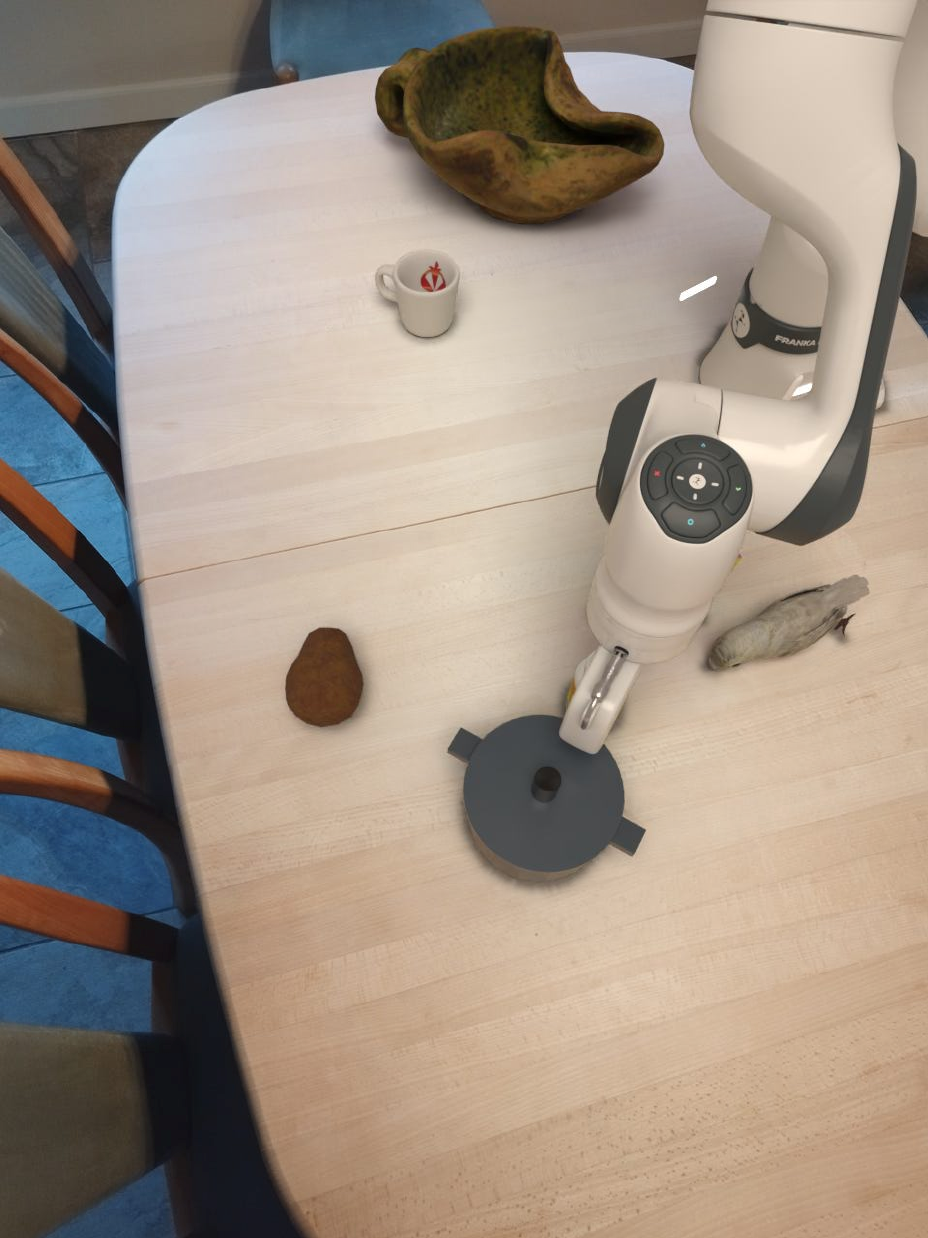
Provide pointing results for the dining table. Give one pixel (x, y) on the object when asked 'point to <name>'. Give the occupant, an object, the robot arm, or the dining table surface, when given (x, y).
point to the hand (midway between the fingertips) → (615, 675)
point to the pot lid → (542, 796)
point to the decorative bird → (789, 624)
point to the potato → (324, 679)
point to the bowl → (513, 124)
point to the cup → (422, 290)
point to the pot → (622, 840)
